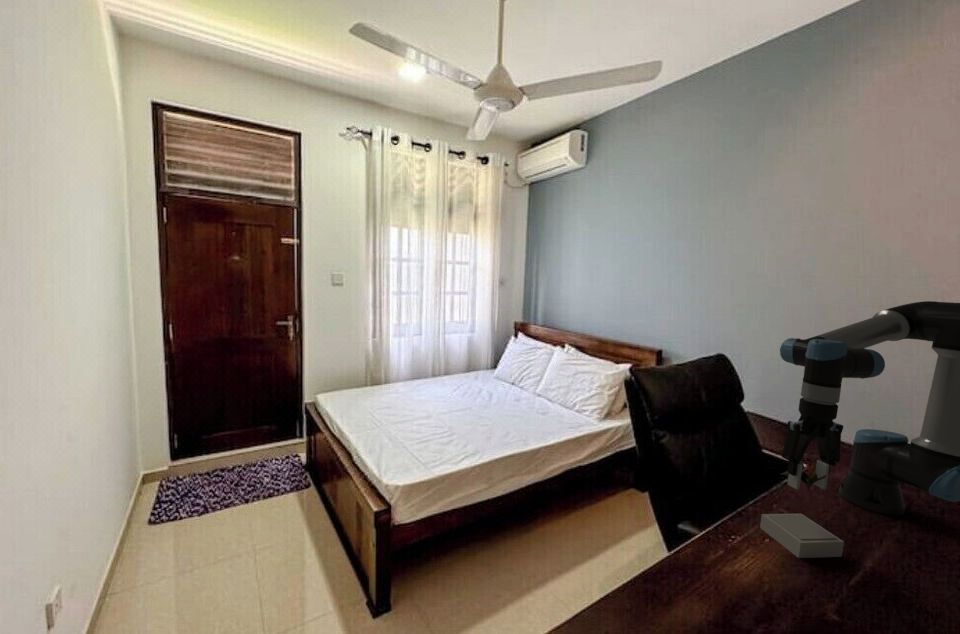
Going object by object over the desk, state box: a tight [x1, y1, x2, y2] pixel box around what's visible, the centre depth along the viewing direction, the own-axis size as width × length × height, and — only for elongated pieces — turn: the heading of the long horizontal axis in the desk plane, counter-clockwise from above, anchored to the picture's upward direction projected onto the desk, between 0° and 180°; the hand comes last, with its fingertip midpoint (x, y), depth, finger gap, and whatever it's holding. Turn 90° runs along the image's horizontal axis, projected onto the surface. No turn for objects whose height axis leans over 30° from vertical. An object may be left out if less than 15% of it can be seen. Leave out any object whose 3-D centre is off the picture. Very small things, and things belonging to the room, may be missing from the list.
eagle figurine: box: [779, 459, 826, 491], centre depth 108 cm, size 8×7×9 cm
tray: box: [759, 513, 845, 559], centre depth 107 cm, size 12×12×4 cm
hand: (806, 486), depth 105 cm, fingers closed on eagle figurine, 7 cm apart
